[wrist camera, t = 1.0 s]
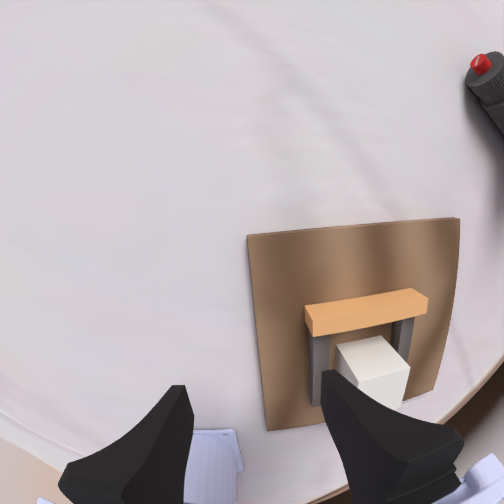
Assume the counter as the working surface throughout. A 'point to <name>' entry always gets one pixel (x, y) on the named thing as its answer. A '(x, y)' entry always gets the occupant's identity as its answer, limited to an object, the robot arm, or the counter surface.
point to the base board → (341, 288)
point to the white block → (374, 369)
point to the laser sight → (489, 84)
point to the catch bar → (364, 311)
